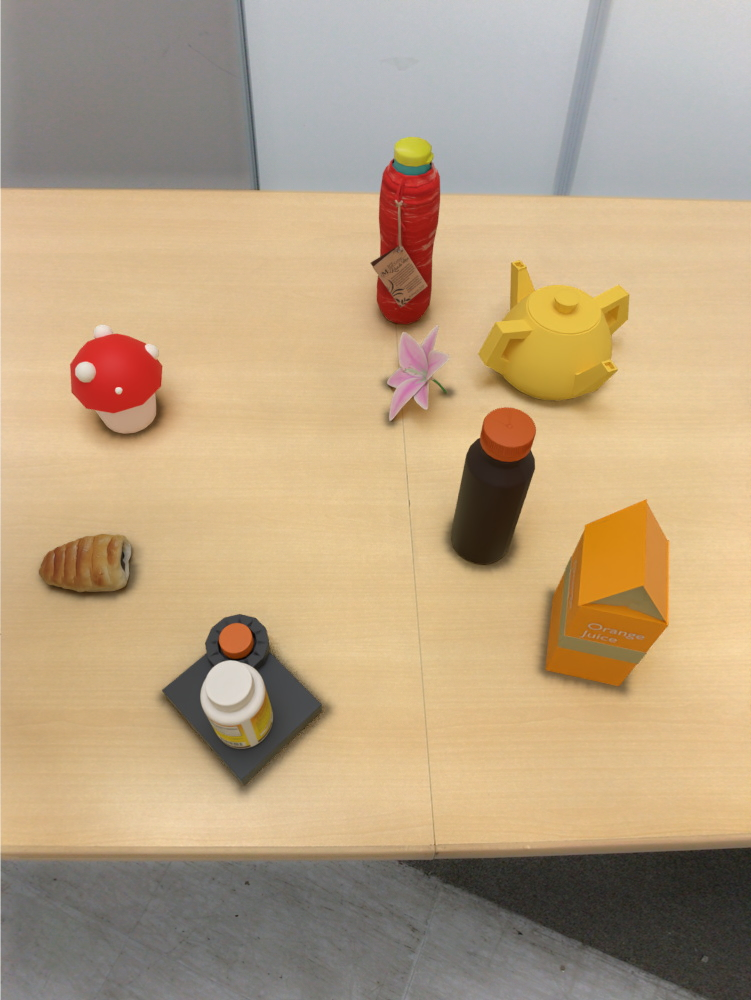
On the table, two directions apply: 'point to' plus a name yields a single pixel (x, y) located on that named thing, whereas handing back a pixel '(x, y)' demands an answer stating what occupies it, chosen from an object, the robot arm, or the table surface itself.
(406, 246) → the water bottle
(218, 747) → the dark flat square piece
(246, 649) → the button
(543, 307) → the teapot
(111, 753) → the table surface
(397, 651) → the table surface
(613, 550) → the orange juice
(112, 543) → the pastry
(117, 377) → the mushroom
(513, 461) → the vinegar
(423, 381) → the lily
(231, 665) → the supplement bottle
